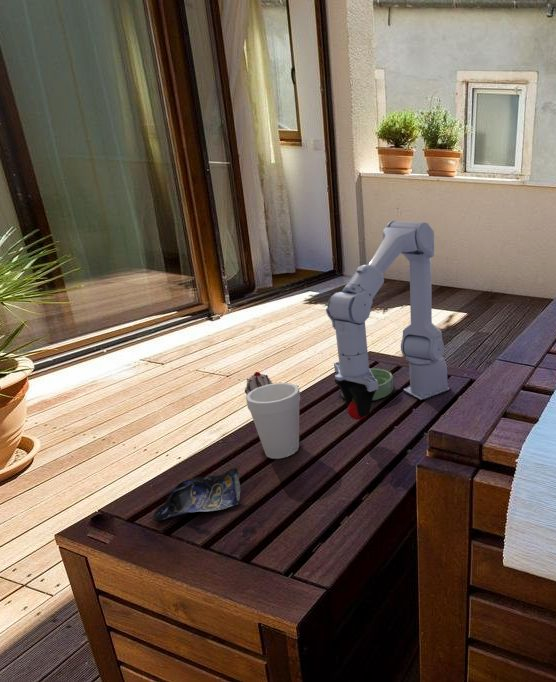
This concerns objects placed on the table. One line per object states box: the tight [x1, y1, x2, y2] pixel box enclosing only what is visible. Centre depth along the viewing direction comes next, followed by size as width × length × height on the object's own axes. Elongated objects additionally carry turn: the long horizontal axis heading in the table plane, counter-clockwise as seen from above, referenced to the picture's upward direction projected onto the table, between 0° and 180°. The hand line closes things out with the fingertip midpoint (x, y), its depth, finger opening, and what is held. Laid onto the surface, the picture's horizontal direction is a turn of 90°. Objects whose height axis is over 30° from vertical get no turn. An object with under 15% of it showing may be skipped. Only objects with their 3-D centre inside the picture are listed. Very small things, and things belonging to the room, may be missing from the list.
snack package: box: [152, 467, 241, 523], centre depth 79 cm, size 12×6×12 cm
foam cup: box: [245, 382, 301, 460], centre depth 94 cm, size 10×9×13 cm
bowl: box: [339, 367, 395, 401], centre depth 123 cm, size 13×13×4 cm
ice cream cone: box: [244, 371, 274, 395], centre depth 100 cm, size 6×6×15 cm
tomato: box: [347, 398, 368, 421], centre depth 99 cm, size 4×4×5 cm
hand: (358, 411), depth 99 cm, fingers closed on tomato, 4 cm apart
